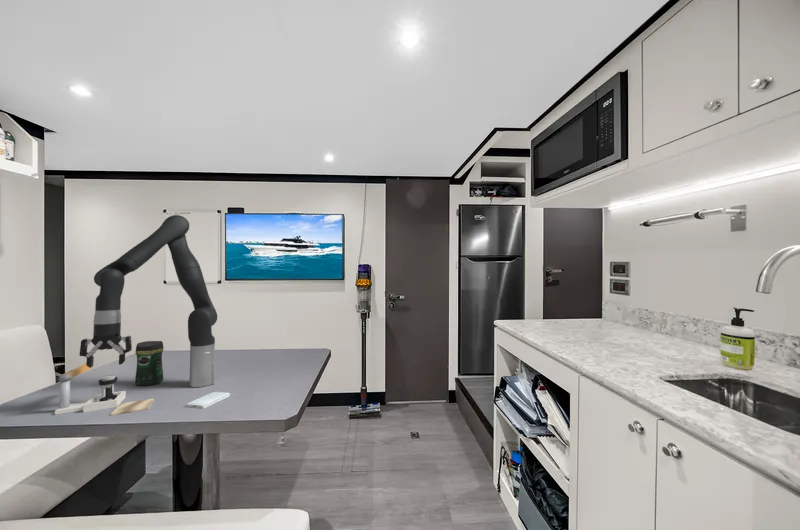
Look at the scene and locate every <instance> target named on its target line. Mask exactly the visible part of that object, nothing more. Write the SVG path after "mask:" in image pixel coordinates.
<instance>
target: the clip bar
mask: <svg viewBox="0 0 800 530" xmlns="http://www.w3.org/2000/svg"><path fill="white" fill-rule="evenodd" d="M86 363H87V362H86ZM86 363H84V364H82V365H79V366H77V367H75V368H73V369H71V370H69V371H67V372H65V373H62V374H59V376H58V377H59V382H61V381H68V380H70V381H71V380H72V379H73V378H75V377H77V376H79V375H81V374H83V373H85V372H86V371H88V370H91V369H92V368H93V367H90V368H89V367H88V366H87V365H86Z"/></svg>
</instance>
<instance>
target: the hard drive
mask: <svg viewBox="0 0 800 530" xmlns="http://www.w3.org/2000/svg"><path fill="white" fill-rule="evenodd" d="M230 396H231V393H230V392H223V391H213V392H209V393H208V394H206V395H203V396H201V397H198V398H197V399H194V400H191V401H190V402H188V403H185V404H184V408H185V407H187V408H194V409H195V408H196V409H206V408H208V407H210V406H212V405H213V404H216V403H218V402H220V401H222V400H224V399H227V398H229V397H230Z"/></svg>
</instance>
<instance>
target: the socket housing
mask: <svg viewBox="0 0 800 530" xmlns="http://www.w3.org/2000/svg"><path fill="white" fill-rule="evenodd" d="M59 386H60V392H59V394H60V395H59V407H58V408H57V409H56V410H54V415H62V414H63V415H64V414H68V413H69V414H70V413H74V412H80V411H82V413H88V412H89V413H90V412H94V411H99V410H100V411H101V410H107V409H111V408H112V409H113V408H116V407H117V406H118V405H119V404H121V403H123V401H124V400H125V398H127V397H126V396H127V395H126V394H127V391H126V390H121V391H114V394H115V395H117V397H116V398H115V399H114V400H109V401H102V402H99V399H100V398H102V397H101V396H102V393H99V394H95V395H93V396H92V397H91V398H90V399H89V400H88V401H83V402H82V401H81V402H75V403H71V380H68V381H60V385H59Z"/></svg>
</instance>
